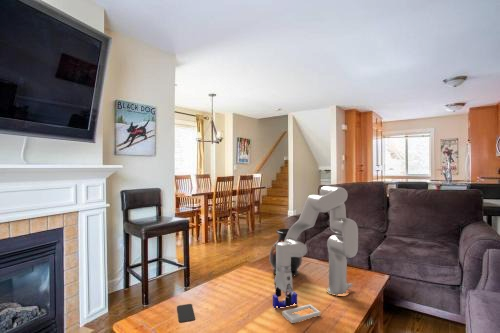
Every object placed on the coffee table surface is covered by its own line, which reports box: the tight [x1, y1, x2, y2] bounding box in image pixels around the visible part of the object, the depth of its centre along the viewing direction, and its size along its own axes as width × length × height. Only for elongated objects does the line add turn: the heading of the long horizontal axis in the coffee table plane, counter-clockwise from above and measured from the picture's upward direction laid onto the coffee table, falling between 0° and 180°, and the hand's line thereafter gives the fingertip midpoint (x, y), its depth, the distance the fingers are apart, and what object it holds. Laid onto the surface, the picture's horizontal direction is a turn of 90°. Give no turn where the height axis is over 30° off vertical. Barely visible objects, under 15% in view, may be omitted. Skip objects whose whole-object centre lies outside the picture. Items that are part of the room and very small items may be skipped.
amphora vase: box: [268, 228, 303, 277], centre depth 183 cm, size 22×22×28 cm
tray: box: [281, 303, 322, 324], centre depth 131 cm, size 16×8×2 cm, turn 115°
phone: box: [176, 303, 196, 324], centre depth 133 cm, size 7×1×15 cm
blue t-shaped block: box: [272, 291, 298, 309], centre depth 141 cm, size 12×4×6 cm, turn 108°
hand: (283, 300), depth 142 cm, fingers open, 9 cm apart
